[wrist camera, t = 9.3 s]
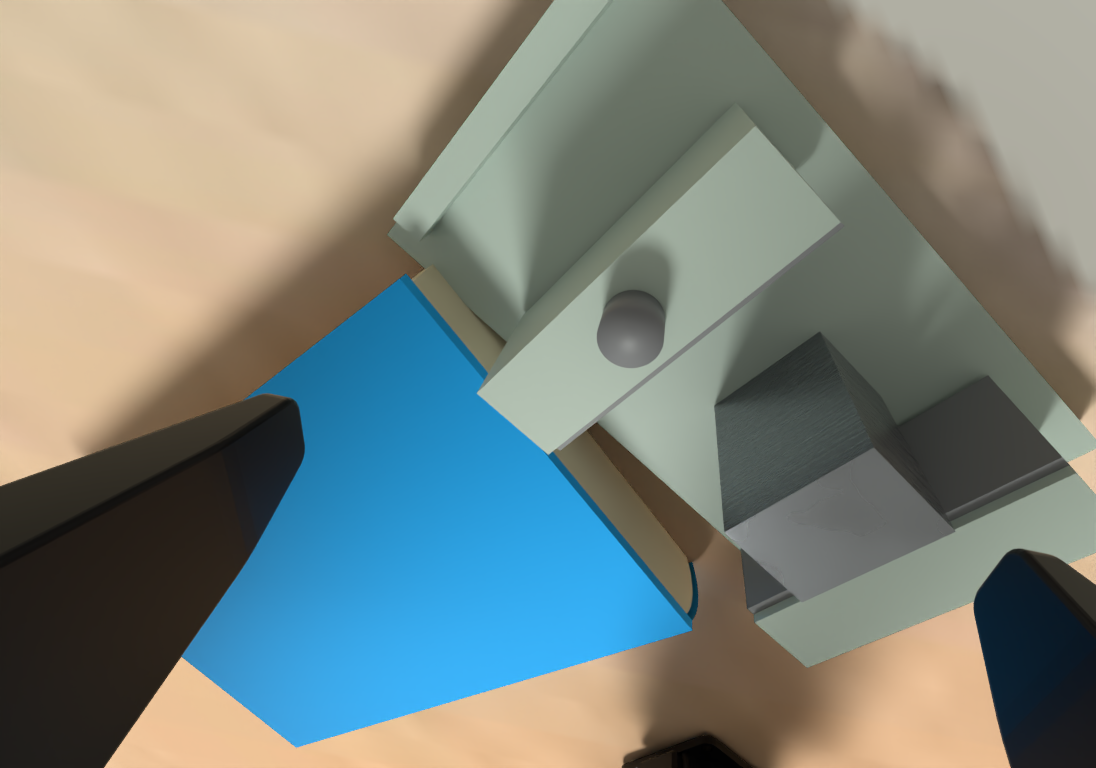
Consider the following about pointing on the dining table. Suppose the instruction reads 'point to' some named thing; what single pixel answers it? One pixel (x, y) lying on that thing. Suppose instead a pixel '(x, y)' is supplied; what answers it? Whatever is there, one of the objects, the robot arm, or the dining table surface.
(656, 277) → the jaw
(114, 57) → the dining table surface
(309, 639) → the book
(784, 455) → the block
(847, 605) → the vise
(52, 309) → the dining table surface
